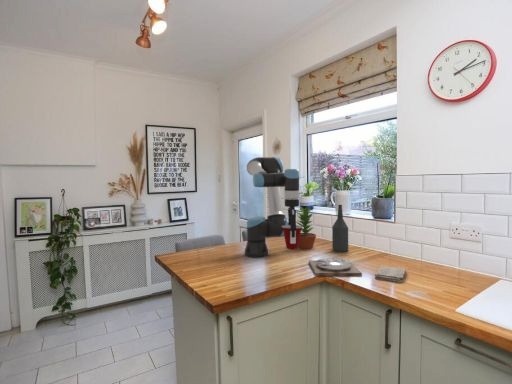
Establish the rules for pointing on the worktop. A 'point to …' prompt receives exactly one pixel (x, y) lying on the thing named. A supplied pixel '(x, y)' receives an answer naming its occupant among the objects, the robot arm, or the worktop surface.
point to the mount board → (332, 273)
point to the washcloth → (390, 274)
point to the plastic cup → (287, 236)
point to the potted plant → (306, 238)
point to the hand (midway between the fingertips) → (292, 240)
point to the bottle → (340, 233)
